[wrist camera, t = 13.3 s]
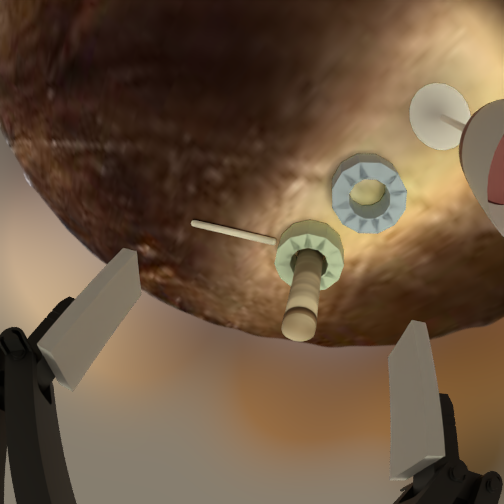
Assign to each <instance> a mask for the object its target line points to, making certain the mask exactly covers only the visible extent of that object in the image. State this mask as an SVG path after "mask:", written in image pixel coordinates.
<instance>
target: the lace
mask: <svg viewBox="0 0 504 504" xmlns="http://www.w3.org/2000/svg"><path fill="white" fill-rule="evenodd" d="M191 225H192V226H194V227H198V228H202V229H207V230H211V231H215V232H219V233H224V234H228V235H232V236H236V237H240V238H245V239H249V240H253V241H257V242H261V243H266V244H270V245H275V244H276V243H277V240H276V239H275V238H271V237H267V236H262V235H258V234H254V233H250V232H245V231H241V230H237V229H233V228H228V227H224V226H220V225H215V224H211V223H206V222H202V221H198V220H192V222H191Z"/></svg>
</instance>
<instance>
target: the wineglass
mask: <svg viewBox="0 0 504 504" xmlns="http://www.w3.org/2000/svg"><path fill="white" fill-rule="evenodd" d="M409 113H410V123H411V126H412V129H413V131H414V133H415V134H416V135H417V137H418V138H419V140H421V141H422V142H423V143H424V144H425V145H427V146H429V147H431V148H434V149H436V150H448V149H451V148H455V147H456V146H457V145H459V157H460V163H461V167H462V170H463V172H464V175H465V177H466V179H467V181H468V183H469V185H470V187H471V190H472V192H473V193H474V195H475V197H476V199H477V200H478V202H479V204H480V205H481V207H482V208H483V210H484V211H485V213H486V214H487V216H488V217H489V219H490V220H491V222H492V223H493V224H494V226H495V227H496V228H497V230H498V231H499V232H500V233H501V235H502V236H503V237H504V99H501V100H496V101H493V102H491V103H488V104H486V105H485V106H483V107H481V108H480V109H479V110H478V111H476V112H475V113H474V114H473V115H472V116H471V117H470V111H469V108H468V104H467V103H466V101H465V99H464V98H463V96H462V95H461V94H460V93H459V92H458V91H457V90H456V89H455V88H453V87H451V86H449V85H446V84H442V83H432V84H429V85H425V86H424V87H423V88H421V89H420V90H418V91H417V93H416V94H415V96H414V97H413V99H412V102H411V105H410V109H409Z"/></svg>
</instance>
